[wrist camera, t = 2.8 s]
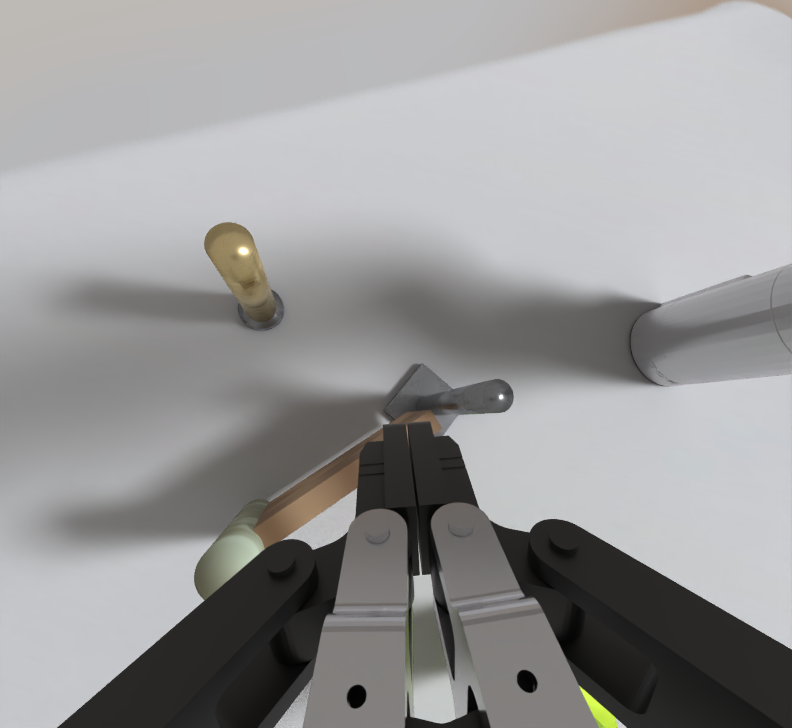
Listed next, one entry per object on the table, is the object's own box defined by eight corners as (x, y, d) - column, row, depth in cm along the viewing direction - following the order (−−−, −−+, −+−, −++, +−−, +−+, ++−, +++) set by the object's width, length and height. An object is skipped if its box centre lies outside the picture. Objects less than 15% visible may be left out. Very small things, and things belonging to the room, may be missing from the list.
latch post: (260, 281, 37) (227, 200, 23) (292, 308, 37) (278, 244, 24) (230, 311, 36) (177, 244, 22) (263, 339, 36) (231, 289, 23)
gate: (399, 405, 36) (437, 397, 25) (417, 434, 36) (464, 440, 25) (231, 514, 32) (182, 567, 20) (251, 547, 32) (213, 618, 20)
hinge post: (420, 364, 39) (489, 326, 23) (464, 402, 39) (561, 390, 24) (383, 410, 37) (430, 402, 22) (429, 449, 38) (507, 468, 22)
